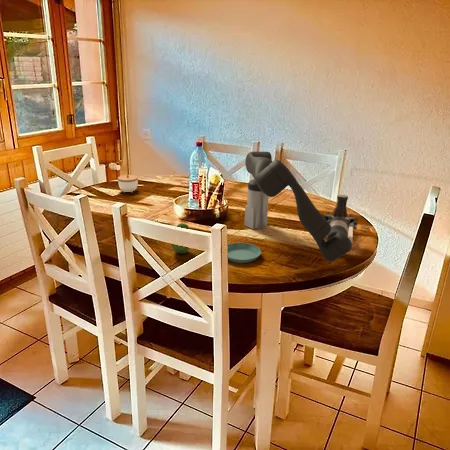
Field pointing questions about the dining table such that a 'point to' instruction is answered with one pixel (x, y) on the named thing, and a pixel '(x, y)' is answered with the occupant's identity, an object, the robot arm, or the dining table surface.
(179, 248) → the avocado
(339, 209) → the sauce bottle
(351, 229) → the channel
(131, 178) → the lidded jar
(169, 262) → the dining table surface
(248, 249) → the saucer
